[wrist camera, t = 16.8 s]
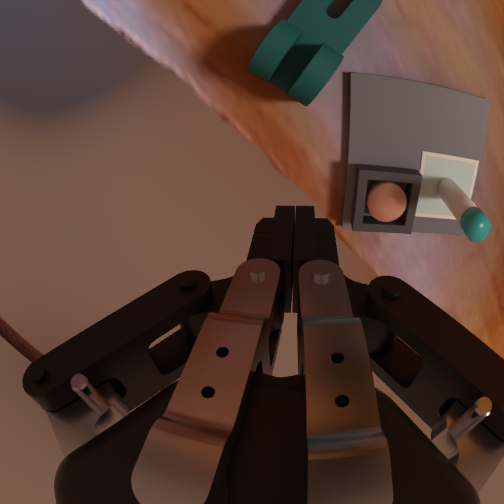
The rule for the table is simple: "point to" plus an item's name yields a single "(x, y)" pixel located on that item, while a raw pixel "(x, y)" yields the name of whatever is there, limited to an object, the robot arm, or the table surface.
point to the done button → (385, 200)
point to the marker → (464, 210)
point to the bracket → (309, 47)
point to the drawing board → (411, 150)
